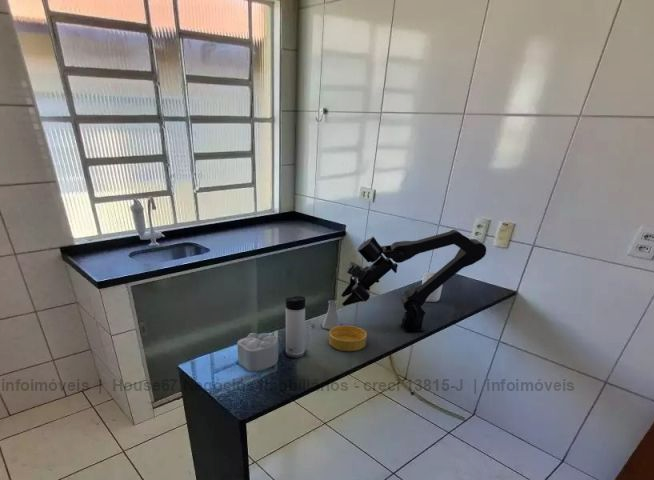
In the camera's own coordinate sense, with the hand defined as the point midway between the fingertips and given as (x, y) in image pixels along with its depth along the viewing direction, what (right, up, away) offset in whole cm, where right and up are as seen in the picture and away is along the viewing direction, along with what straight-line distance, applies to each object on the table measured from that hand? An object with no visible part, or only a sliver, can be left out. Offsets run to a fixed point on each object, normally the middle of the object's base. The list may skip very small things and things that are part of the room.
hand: (342, 300), depth 150 cm
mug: (+44, +7, +31) cm, 55 cm away
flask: (-3, -9, +6) cm, 11 cm away
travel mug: (-18, -21, -13) cm, 30 cm away
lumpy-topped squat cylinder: (-29, -24, -17) cm, 41 cm away
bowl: (+1, -17, -7) cm, 18 cm away
